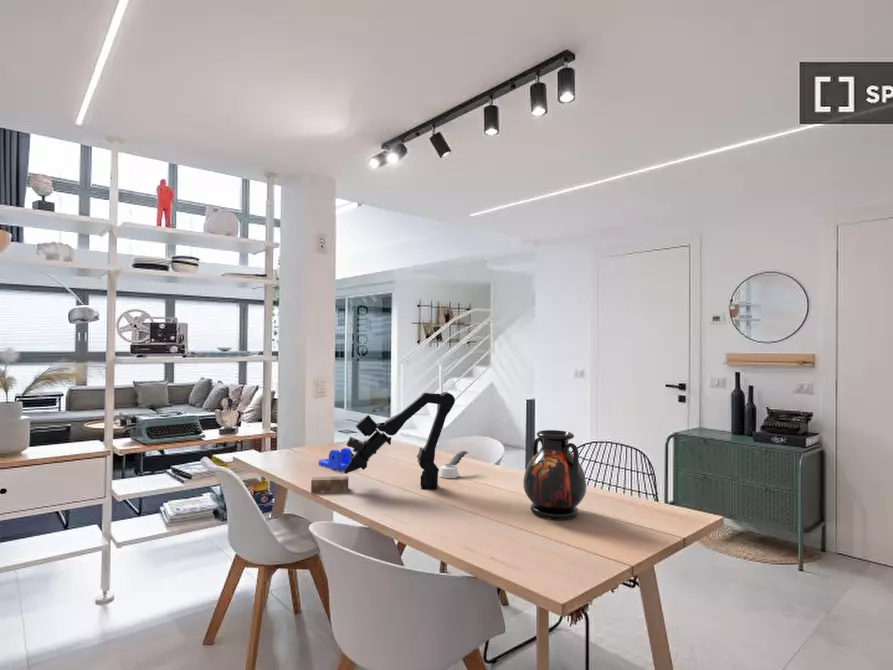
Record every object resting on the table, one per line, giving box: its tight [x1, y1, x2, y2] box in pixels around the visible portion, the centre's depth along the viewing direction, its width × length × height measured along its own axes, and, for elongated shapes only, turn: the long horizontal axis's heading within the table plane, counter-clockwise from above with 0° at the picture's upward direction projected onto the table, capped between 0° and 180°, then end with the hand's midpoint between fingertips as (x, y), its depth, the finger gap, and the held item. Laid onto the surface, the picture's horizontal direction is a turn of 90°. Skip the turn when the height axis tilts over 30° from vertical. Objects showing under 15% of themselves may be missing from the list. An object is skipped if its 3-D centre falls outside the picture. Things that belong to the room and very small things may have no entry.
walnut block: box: [310, 475, 349, 493], centre depth 205 cm, size 5×5×14 cm
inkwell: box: [438, 450, 469, 479], centre depth 235 cm, size 9×18×10 cm, turn 141°
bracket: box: [318, 447, 353, 471], centre depth 246 cm, size 18×8×9 cm, turn 47°
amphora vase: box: [522, 429, 587, 520], centre depth 182 cm, size 22×22×28 cm
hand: (344, 472), depth 206 cm, fingers closed
